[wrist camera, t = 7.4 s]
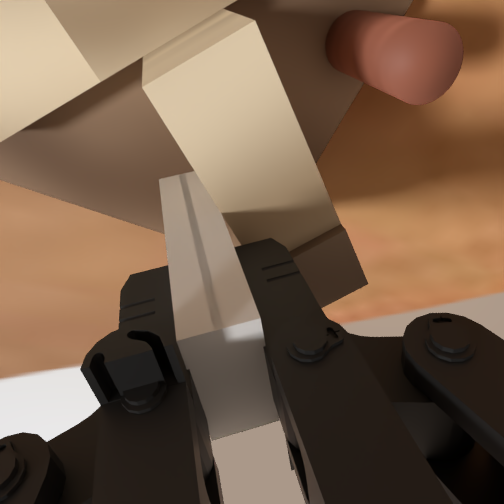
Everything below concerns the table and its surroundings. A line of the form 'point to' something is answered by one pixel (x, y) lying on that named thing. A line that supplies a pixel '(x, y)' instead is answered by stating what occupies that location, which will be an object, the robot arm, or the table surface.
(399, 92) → the post board
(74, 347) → the table surface
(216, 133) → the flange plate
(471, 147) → the table surface
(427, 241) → the table surface
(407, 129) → the table surface
